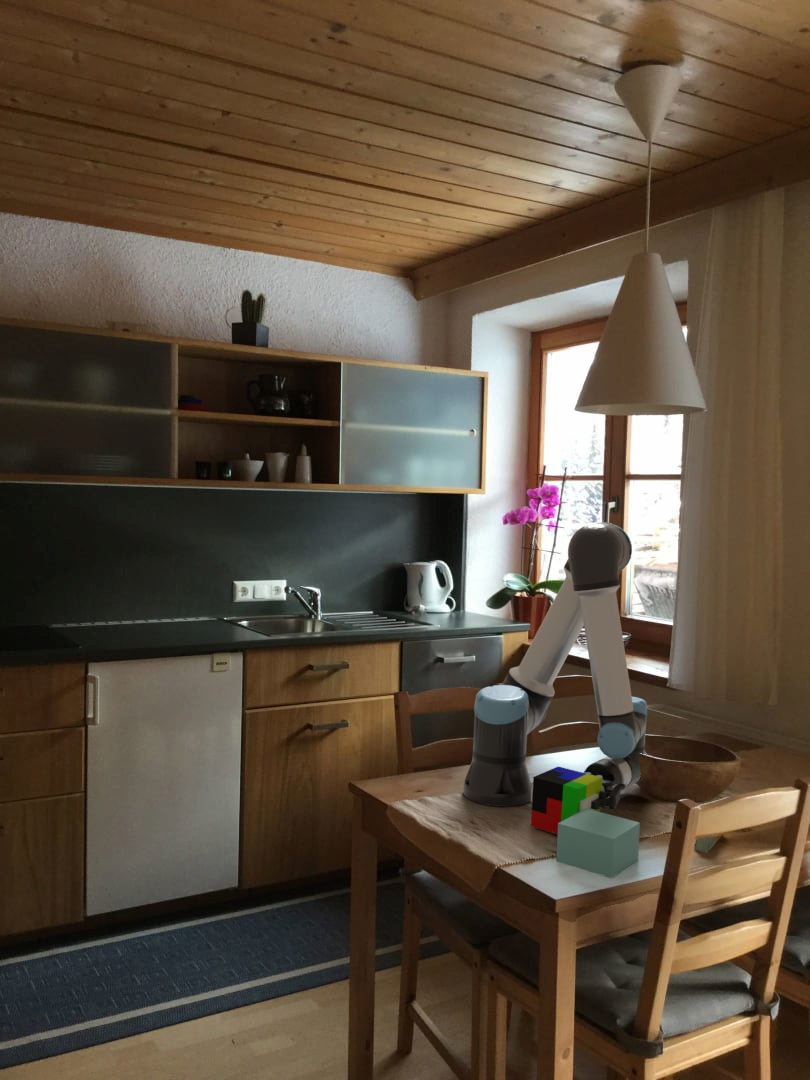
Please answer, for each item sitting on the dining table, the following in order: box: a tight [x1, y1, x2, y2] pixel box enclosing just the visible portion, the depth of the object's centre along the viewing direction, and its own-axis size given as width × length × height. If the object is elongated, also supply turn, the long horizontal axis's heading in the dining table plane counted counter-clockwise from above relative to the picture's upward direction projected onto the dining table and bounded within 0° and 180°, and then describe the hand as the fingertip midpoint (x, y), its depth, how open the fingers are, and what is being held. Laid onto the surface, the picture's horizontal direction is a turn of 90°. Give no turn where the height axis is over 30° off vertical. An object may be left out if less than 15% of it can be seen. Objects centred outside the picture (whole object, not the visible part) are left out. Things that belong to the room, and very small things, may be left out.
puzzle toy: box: [530, 766, 602, 835], centre depth 187 cm, size 10×10×10 cm
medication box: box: [694, 835, 722, 854], centre depth 183 cm, size 12×3×4 cm, turn 149°
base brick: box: [556, 809, 641, 879], centre depth 172 cm, size 11×11×7 cm
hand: (556, 801), depth 183 cm, fingers closed on puzzle toy, 10 cm apart
